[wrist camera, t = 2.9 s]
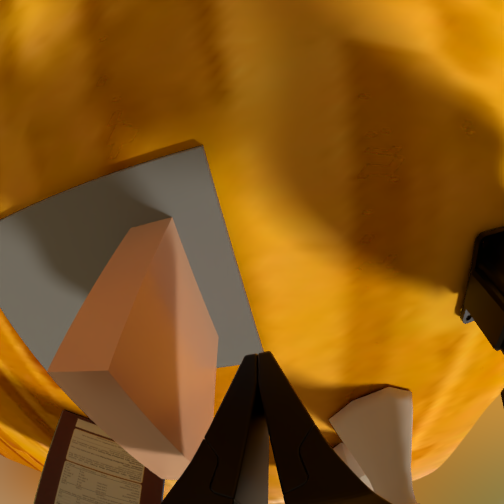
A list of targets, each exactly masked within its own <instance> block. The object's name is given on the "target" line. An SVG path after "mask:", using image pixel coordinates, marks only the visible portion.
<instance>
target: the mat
mask: <svg viewBox="0 0 504 504" xmlns="http://www.w3.org/2000/svg"><path fill="white" fill-rule="evenodd" d="M171 217H172V218H173V220H174V223H175V226H176V229H177V232H178V234H179V237H180V240H181V243H182V245H183V248H184V251H185V253H186V256H187V259H188V261H189V264H190V267H191V269H192V272H193V274H194V277H195V280H196V282H197V285H198V287H199V290H200V292H201V295H202V297H203V300H204V302H205V305H206V307H207V310H208V312H209V315H210V317H211V320H212V322H213V325H214V327H215V329H216V332H217V334H218V336H219V338H218V352H217V366H216V368H219V367H226V366H233V365H240V364H241V362H242V360H243V358H244V356H245V355H249V354H255V353H256V354H259V353H261V352H264V351H263V348H262V345H261V342H260V338H259V335H258V332H257V329H256V325H255V322H254V319H253V315H252V312H251V309H250V305H249V302H248V299H247V296H246V292H245V289H244V286H243V282H242V279H241V275H240V272H239V269H238V265H237V262H236V259H235V255H234V252H233V248H232V245H231V242H230V238H229V235H228V231H227V228H226V224H225V221H224V218H223V214H222V211H221V207H220V204H219V200H218V197H217V193H216V190H215V186H214V183H213V179H212V176H211V172H210V169H209V165H208V161H207V158H206V154H205V151H204V147H203V145H202V146H198V147H194V148H191V149H187V150H184V151H180V152H177V153H173V154H170V155H166V156H163V157H160V158H156V159H153V160H150V161H147V162H144V163H141V164H137V165H134V166H131V167H128V168H125V169H122V170H120V171H117V172H114V173H111V174H108V175H105V176H103V177H100V178H97V179H94V180H92V181H89V182H86V183H84V184H81V185H79V186H76V187H73V188H71V189H68V190H66V191H63V192H61V193H59V194H56V195H54V196H51V197H49V198H47V199H44V200H42V201H40V202H37V203H35V204H33V205H31V206H28V207H26V208H24V209H22V210H20V211H18V212H15V213H13V214H11V215H9V216H7V217H5V218H3V219H1V220H0V308H1V309H2V311H3V313H4V314H5V316H6V317H7V319H8V320H9V321H10V323H11V324H12V326H13V327H14V329H15V330H16V332H17V333H18V334H19V336H20V337H21V338H22V340H23V341H24V343H25V344H26V345H27V347H28V348H29V349H30V350H31V352H32V353H33V354H34V356H35V357H36V358H37V359H38V361H39V362H40V363H41V364H42V366H43V367H44V368H45V369H46V370H47V371H48V368H49V366H50V364H51V362H52V360H53V358H54V356H55V354H56V352H57V350H58V349H59V347H60V345H61V343H62V341H63V339H64V337H65V335H66V333H67V331H68V330H69V328H70V326H71V324H72V322H73V320H74V319H75V317H76V315H77V313H78V312H79V310H80V308H81V306H82V305H83V303H84V301H85V299H86V298H87V296H88V294H89V293H90V291H91V289H92V288H93V286H94V284H95V283H96V281H97V279H98V278H99V276H100V274H101V273H102V271H103V270H104V268H105V266H106V265H107V263H108V262H109V260H110V258H111V257H112V255H113V254H114V252H115V251H116V249H117V248H118V246H119V245H120V243H121V242H122V240H123V239H124V237H125V236H126V234H127V233H128V231H129V230H130V228H132V227H136V226H140V225H144V224H147V223H151V222H155V221H159V220H163V219H167V218H171Z"/></svg>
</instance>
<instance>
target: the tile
mask: <svg viewBox="0 0 504 504" xmlns="http://www.w3.org/2000/svg"><path fill="white" fill-rule="evenodd" d="M218 338H219V336H218V334H217V332H216V329H215V327H214V325H213V322H212V320H211V317H210V315H209V312H208V310H207V307H206V305H205V302H204V300H203V297H202V295H201V292H200V290H199V287H198V285H197V282H196V280H195V277H194V274H193V272H192V269H191V267H190V264H189V261H188V259H187V256H186V253H185V251H184V248H183V245H182V243H181V240H180V237H179V234H178V232H177V229H176V226H175V223H174V220H173V218H172V217H171V218H167V219H163V220H159V221H155V222H151V223H147V224H144V225H140V226H136V227H132V228H130V230H129V231H128V233H127V234H126V236H125V237H124V239H123V240H122V242H121V243H120V245H119V246H118V248H117V249H116V251H115V252H114V254H113V255H112V257H111V258H110V260H109V262H108V263H107V265H106V266H105V268H104V270H103V271H102V273H101V274H100V276H99V278H98V279H97V281H96V283H95V284H94V286H93V288H92V289H91V291H90V293H89V294H88V296H87V298H86V299H85V301H84V303H83V305H82V306H81V308H80V310H79V312H78V313H77V315H76V317H75V319H74V320H73V322H72V324H71V326H70V328H69V330H68V331H67V333H66V335H65V337H64V339H63V341H62V343H61V345H60V347H59V349H58V350H57V352H56V354H55V356H54V358H53V360H52V362H51V364H50V366H49V368H48V371H47V373H48V374H49V375H50V376H51V377H52V379H53V380H54V381H55V382H56V383H57V384H58V385H59V387H60V388H61V389H62V390H63V391H64V392H65V393H66V394H67V395H68V396H69V397H70V399H71V400H72V401H73V402H74V403H75V404H76V405H77V406H78V407H79V408H80V409H81V410H82V411H83V412H84V413H85V414H86V415H87V416H88V417H89V418H90V419H91V420H92V421H93V422H94V423H95V424H96V425H97V426H98V427H100V428H101V429H102V430H103V431H104V432H105V433H106V434H107V435H108V436H109V437H110V438H112V439H113V440H114V441H115V442H116V443H117V444H118V445H120V446H121V447H122V448H123V449H124V450H125V451H127V452H128V453H129V454H130V455H131V456H133V457H134V458H135V459H136V460H138V461H139V462H140V463H141V464H143V465H144V466H145V467H147V468H148V469H149V470H150V471H152V472H153V473H154V474H156V475H157V476H158V477H160V478H161V479H170V480H178V479H179V478H180V476H181V475H182V474H183V472H184V471H185V469H186V468H187V466H188V465H189V463H190V462H191V460H192V459H193V457H194V455H195V453H196V452H197V450H198V448H199V446H200V444H201V442H202V440H203V439H205V438H204V436H205V435H206V433H207V431H208V429H209V427H210V425H211V423H212V421H213V412H214V396H215V381H216V366H217V352H218Z"/></svg>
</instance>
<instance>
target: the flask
mask: <svg viewBox="0 0 504 504" xmlns="http://www.w3.org/2000/svg"><path fill="white" fill-rule="evenodd" d="M329 421H330V423H331V424H332V426H333V428H334V429H335V431H336V433H337V434H338V436H339V437H340V439H341V440H342V442H343V443H344V444H345V446H346V447H347V449H348V450H349V451H350V453H351V454H352V455H353V457H354V458H355V460H356V461H357V463H358V464H359V466H360V467H361V469H362V470H363V472H364V473H365V475H366V476H367V478H368V479H369V481H370V483H371V485H372V487H373V490H374V492H375V493H376V494H378V495H379V496H381V497H382V498H384V499H386V500H387V501H389V502H390V503H392V504H417V502H416V500H415V496H414V492H413V488H412V477H411V446H412V421H413V406H412V392H410V391H406V390H401V389H397V388H393V387H387V388H384V389H382V390H379V391H377V392H374V393H372V394H369V395H366V396H364V397H361V398H358V399H356V400H353V401H351V402H350V403H349V404H348V405H346V406H345V407H344V408H343V409H341V410H340V411H339V412H338V413H336V414H335V415H334V416H333V417H331V418H330V419H329Z"/></svg>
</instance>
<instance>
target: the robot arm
mask: <svg viewBox="0 0 504 504" xmlns="http://www.w3.org/2000/svg"><path fill="white" fill-rule="evenodd" d="M483 241H484V242H483ZM460 318H461V320H462V321H463V323H465V324H466V323H469V322H472V321H475V322H476V323H477V325H478V326H479V328H480V329H481V331H482V332H483V333H484V335H485V336H486V338H487V339H488V341H489V342H490V344H491V345H492V347H493V348H494V349H495V350H496V351H498V350H501V351H502V353H503V354H504V227H501V228H497V229H493V230H489V231H486V232H482V233H480V234H479V235H478V236H477V238H476V240H475V245H474V252H473V258H472V264H471V269H470V275H469V280H468V285H467V289H466V294H465V298H464V303H463V307H462V311H461V315H460ZM501 397H502V402H503V406H504V389H503V390H502V391H501ZM269 436H270V441H271V445H272V450H273V454H274V458H275V463H276V467H277V471H278V476H279V480H280V484H281V489H282V493H283V495H284V496H283V497H284V501H285V504H392V503H390V502H389V501H387V500H386V499H384V498H382V497H381V496H379V495H378V494H376V493H375V492H374V491H372V490H371V489H370V488H369V487H368V486H367V485H366V484H365V483H364V482H363V481H362V480H361V479H360V478H359V477H358V476H357V475H356V474H355V473H354V472H353V471H352V470H351V469H350V468H349V467H348V466H347V465H346V463H345V462H344V461H343V460H342V459H341V458H340V457H339V456H338V455H337V453H336V452H335V451H334V450H333V449H332V447H331V446H330V445H329V444H328V442H327V441H326V439H325V438H324V436H323V435H322V434H321V432H320V430H319V429H318V427H317V426H316V425H315V423H314V421H313V420H312V418H311V416H310V415H309V413H308V412H307V410H306V408H305V407H304V405H303V404H302V402H301V400H300V399H299V397H298V396H297V394H296V392H295V391H294V389H293V387H292V386H291V384H290V383H289V381H288V379H287V378H286V376H285V374H284V373H283V371H282V369H281V368H280V366H279V364H278V363H277V361H276V359H275V358H274V356H273V354H272V353H271V352H270V351H266V352H261V353H259V354H256V353H255V354H249V355H245V356H244V358H243V360H242V362H241V364H240V366H239V368H238V370H237V373H236V375H235V377H234V379H233V381H232V383H231V385H230V387H229V389H228V391H227V393H226V395H225V397H224V399H223V401H222V403H221V405H220V407H219V409H218V411H217V413H216V415H215V417H214V419H213V421H212V423H211V425H210V427H209V429H208V431H207V433H206V435H205V436H204V438H205V439H203V440H202V442H201V444H200V446H199V448H198V450H197V452H196V453H195V455H194V457H193V459H192V460H191V462H190V463H189V465H188V466H187V468H186V469H185V471H184V472H183V474H182V475H181V476H180V478H179V479H178V481H177V482H176V483H175V485H174V486H173V487H172V489H171V490H170V492H169V493H168V494H167V496H166V497H165V498H164V500H163V501H162V502H161V503H160V504H268V469H269Z"/></svg>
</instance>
